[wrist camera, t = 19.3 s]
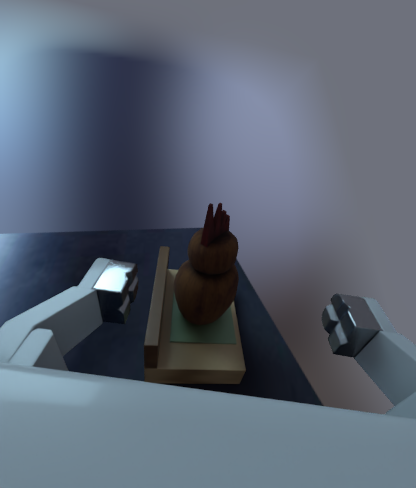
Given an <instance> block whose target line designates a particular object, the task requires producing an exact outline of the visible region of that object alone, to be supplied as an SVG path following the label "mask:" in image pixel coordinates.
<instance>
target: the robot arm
mask: <svg viewBox="0 0 416 488" xmlns="http://www.w3.org/2000/svg"><path fill="white" fill-rule="evenodd" d="M137 272H138V268H137V264H134V263H128V262H122V261H116V260H109V259H103V258H98V259H97V260H95V262H94V263H93V265H92V266H91V268H90V269H89V271H88V272H87V274H86V275H85V277H84V278H83V279H82V281H81V282H80V284H79V285H78V287H75V286H73V287H71V288H69V289H68V290H66V291H64V292H62V293H60V294H58V295H56V296H54V297H52V298H50V299H49V300H47V301H45V302H43V303H41V304H39V305H37V306H35V307H33V308H32V309H30V310H28V311H26V312H24V313H22V314H20V315H18V316H16V317H14V318H13V319H11V320H9V321H7V322H5V323H4V324H3V326H2V327H1V328H0V488H416V345H415V344H413V343H412V342H411V341H410V340H408V339H407V338H406V337H404V336H403V335H402V334H398V333H397V332H396V330H395V329H394V327H393V326H392V324H391V322H390V321H389V319H388V318H387V316H386V314H385V313H384V311H383V310H382V308H381V306H380V305H379V303H378V302H377V301H376V300H375V299H373V298H366V297H357V296H351V295H343V294H335V295H333V297H332V298H331V302H332V304H330V305H328V306H326V308H325V309H324V311H323V314H322V323H323V326H324V329H325V330H326V331H327V332H328V333H329V334H330V335H329V337H328V341H329V343H330V346H331V349H332V351H333V354H336V355H342V356H348V357H354V359H355V360H356V361H357V363H358V364H359V365H360V366H361V367H362V368H363V370H364V371H365V372H366V373H367V374H368V375H369V376H370V378H371V379H372V380H373V381H374V382H375V383H376V385H377V386H378V387H379V388H380V389H381V391H382V392H383V393H384V394H385V395H386V396H387V398H388V399H389V400H390V401H391V402H392V403H393V404H394V406H395V407H393V408H392V409H390V410H389V411H387V412H386V414H385V415H383V414H376V413H368V412H361V411H354V410H347V409H339V408H332V407H325V406H318V405H311V404H303V403H296V402H289V401H282V400H274V399H267V398H260V397H252V396H245V395H238V394H230V393H223V392H216V391H208V390H201V389H194V388H186V387H179V386H172V385H165V384H157V383H150V382H143V381H135V380H128V379H121V378H113V377H106V376H99V375H91V374H84V373H77V372H70V371H68V369H67V367H66V364H65V362H64V359H63V357H62V356H64V355H65V354H66V353H67V352H68V351H70V350H71V349H72V348H73V347H74V346H76V345H77V344H78V343H79V342H80V341H82V340H83V339H84V338H85V337H86V336H88V335H89V334H90V333H91V332H92V331H94V330H95V329H96V328H97V327H98V326H100V325H101V324H102V323H103V322H110V323H118V324H125V322H126V320H127V317H128V315H129V312H130V304H131V303H132V302H134V300H135V297H136V294H137V290H138V278H137V277H136V274H137Z"/></svg>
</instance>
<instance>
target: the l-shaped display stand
mask: <svg viewBox="0 0 416 488" xmlns="http://www.w3.org/2000/svg"><path fill="white" fill-rule="evenodd" d="M168 263H169V247H163V246H161V247H160V252H159V258H158V264H157V270H156V276H155V282H154V288H153V294H152V300H151V306H150V312H149V318H148V325H147V331H146V337H145V343H144V375H145V382H150V383H188V384H240V382H241V380H242V377H243V375H244V373H245V371H246V369H245V363H244V357H243V351H242V346H241V340H240V334H239V328H238V323H237V317H236V311H235V305H234V301H233V302H232V304H231V306H230V307H229V308H228V309H227V310H226V312H225V313H224V314H223V315H222V316H221V317H220V318H219V319H217V320H216V321H214V322H213V323H210V324H206V325H196V324H193V323H190V322H189V321H187V320H186V319H185V318H184V317H183V315H182V314H181V312H180V310H179V309H178V305H177V302H176V299H175V294H174V281H175V276H176V274H177V272H178V270H169V269H168Z"/></svg>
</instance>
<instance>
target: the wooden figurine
mask: <svg viewBox="0 0 416 488" xmlns="http://www.w3.org/2000/svg"><path fill="white" fill-rule="evenodd" d="M229 221H230V216H229V215H227V214H226V211H224V210H223V211H222V203H219V204H218V207H217V210H216V213H215V216H214V217H213V204H209V206H208V211H207V215H206V220H205V224H204V228H201V229H200V230H199V231H197V232H196V233H195V234H194V235H193V237H192V239H191V240H190V242H189V246H188V257H189V260H188V261H186V262H185V263H183V264H182V265H181V267H180V268H179V270H178V272H177V274H176V276H175V281H174V294H175V299H176V302H177V305H178V309H179V310H180V312H181V314H182V315H183V317H184V318H185V319H186V320H187V321H189V322H190V323H193V324H196V325H206V324H210V323H213V322H214V321H216V320H217V319H219V318H220V317H221V316H222V315H223V314H224V313H225V312H226V310H227V309H228V308H229V307H230V306H231V304H232V302H233V301H234V298H235V295H236V291H237V286H238V272H237V269H236V266H235V265H234V263H235V261H236V257H237V252H238V242H237V238H236V237H235V236H234V235H233V234H232V233H231V232H230V231H229Z"/></svg>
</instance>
